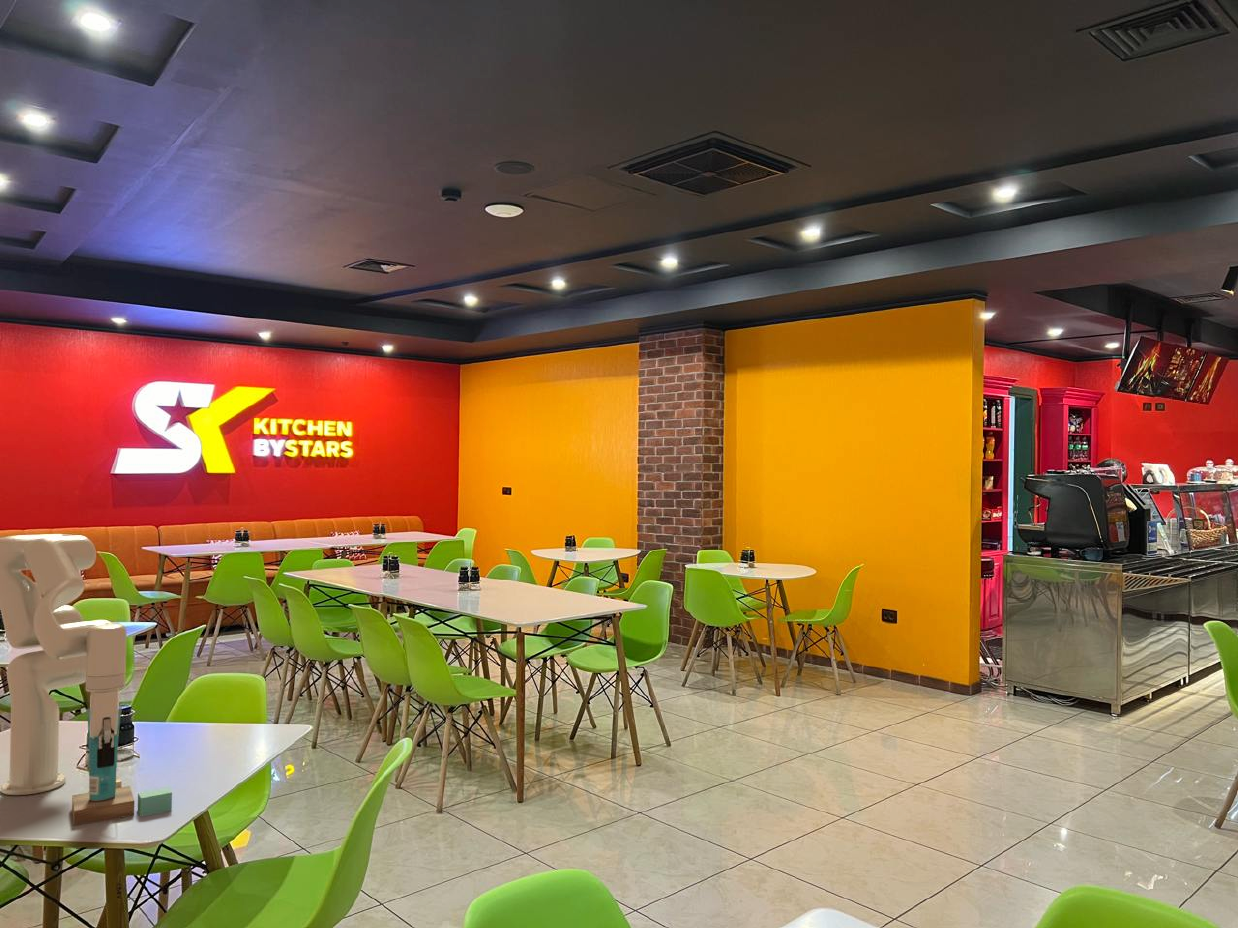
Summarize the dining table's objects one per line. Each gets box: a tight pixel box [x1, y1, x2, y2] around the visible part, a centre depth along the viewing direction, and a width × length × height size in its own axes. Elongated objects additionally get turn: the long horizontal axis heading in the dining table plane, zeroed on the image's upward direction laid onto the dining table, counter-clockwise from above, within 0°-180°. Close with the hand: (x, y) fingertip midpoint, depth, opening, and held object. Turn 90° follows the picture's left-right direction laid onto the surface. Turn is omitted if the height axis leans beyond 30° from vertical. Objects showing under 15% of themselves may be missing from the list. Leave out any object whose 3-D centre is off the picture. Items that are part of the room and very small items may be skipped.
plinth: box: [71, 785, 135, 826], centre depth 189 cm, size 11×11×3 cm
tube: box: [86, 708, 122, 801], centre depth 189 cm, size 7×5×19 cm, turn 97°
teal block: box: [137, 787, 173, 817], centre depth 190 cm, size 6×4×4 cm, turn 127°
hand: (104, 760), depth 189 cm, fingers open, 9 cm apart
